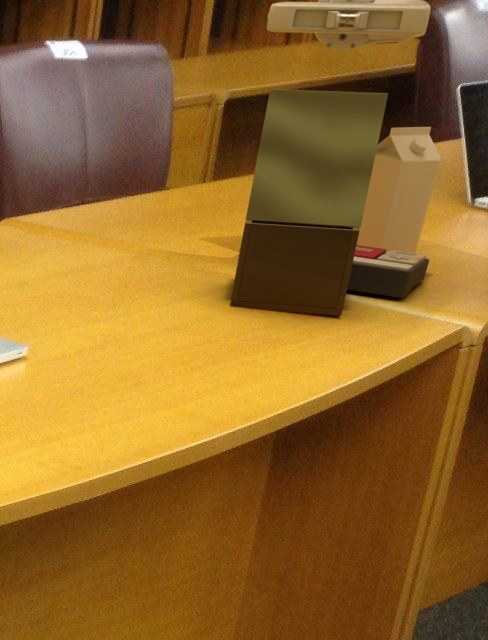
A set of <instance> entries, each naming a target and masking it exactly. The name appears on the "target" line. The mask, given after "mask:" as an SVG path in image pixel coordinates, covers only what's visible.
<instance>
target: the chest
mask: <svg viewBox="0 0 488 640" xmlns="http://www.w3.org/2000/svg"><path fill="white" fill-rule="evenodd" d="M359 232H360V231H359V228H357V227H342V226H327V225H311V224H296V223H281V222H266V221H250V220H246V219H245V223H244V227H243V232H242V237H241V243H240V247H239V253H238V258H237V263H236V270H235V275H234V280H233V284H232V285H233V286H232V290H231V297H230V302H229V307H234V308H244V309H252V310H253V309H255V310H267V311H277V312H278V311H279V312H290V313H299V314H300V313H302V314H313V315H314V314H315V315H325V316H335V317H341V316H342V314H343V309H344V304H345V301H346V296H347V291H348V289H347V287H348V282H349V278H350V273H351V269H352V264H353V259H354V255H355V250H356V246H357V241H358V236H359Z"/></svg>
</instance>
